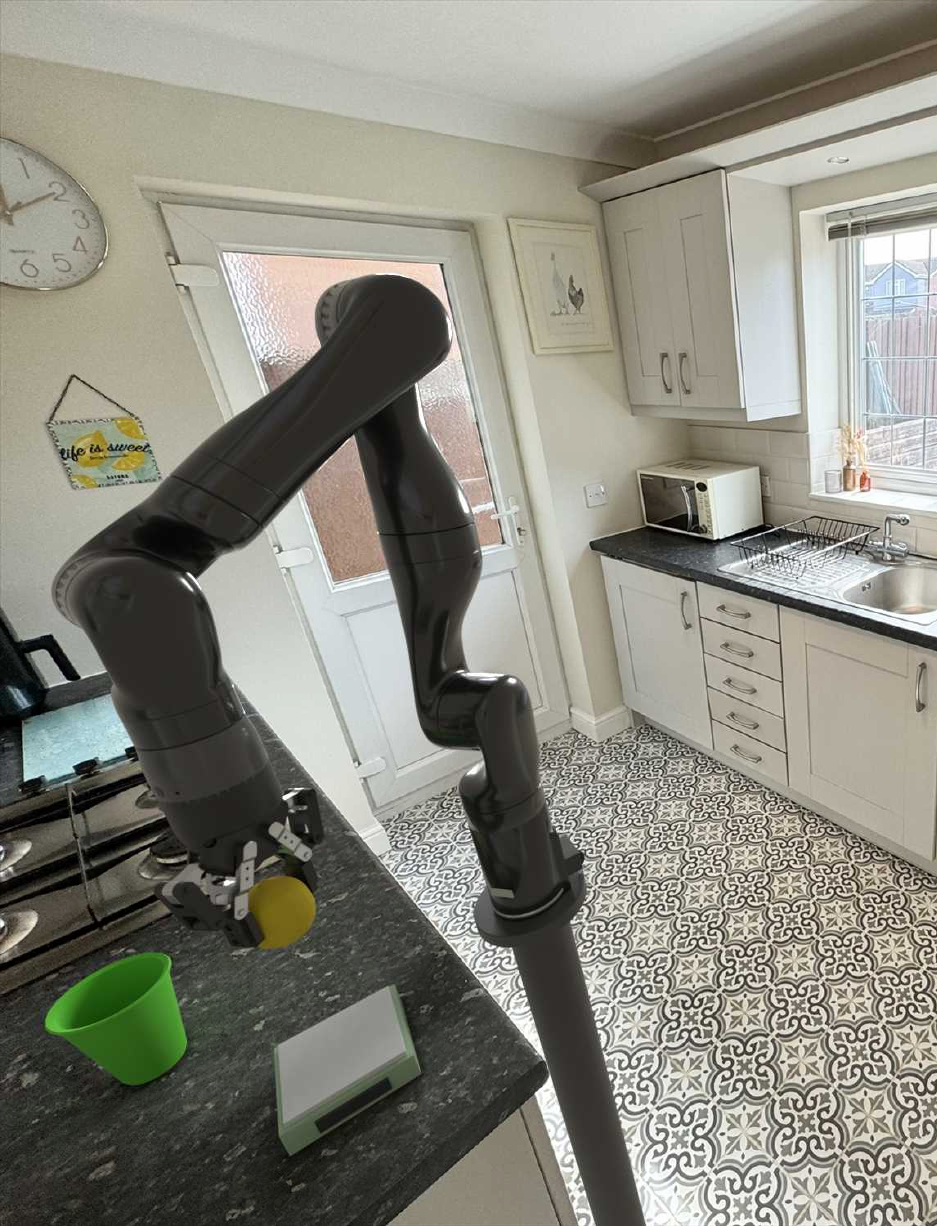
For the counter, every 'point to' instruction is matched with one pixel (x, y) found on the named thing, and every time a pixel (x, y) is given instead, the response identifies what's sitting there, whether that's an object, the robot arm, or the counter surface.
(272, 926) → the lemon
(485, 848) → the robot arm
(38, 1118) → the counter surface
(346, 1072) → the scale
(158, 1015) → the cup
